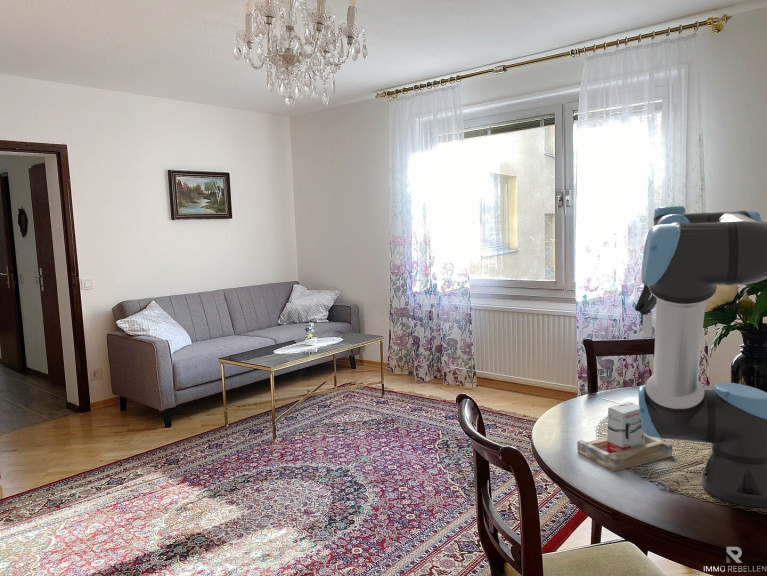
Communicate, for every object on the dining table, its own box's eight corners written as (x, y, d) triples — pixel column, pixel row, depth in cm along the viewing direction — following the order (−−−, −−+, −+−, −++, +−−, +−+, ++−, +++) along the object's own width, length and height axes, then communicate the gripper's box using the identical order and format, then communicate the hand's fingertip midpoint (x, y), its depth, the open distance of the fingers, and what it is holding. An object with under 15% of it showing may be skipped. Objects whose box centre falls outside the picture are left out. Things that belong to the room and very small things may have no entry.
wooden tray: (672, 455, 141) (672, 444, 140) (615, 471, 134) (615, 459, 133) (631, 438, 153) (631, 427, 152) (577, 451, 146) (577, 440, 145)
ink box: (622, 458, 139) (622, 412, 137) (606, 451, 143) (606, 407, 142) (645, 450, 142) (646, 406, 141) (629, 443, 147) (629, 401, 145)
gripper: (722, 265, 138) (719, 348, 141) (641, 260, 161) (640, 332, 164) (701, 267, 136) (698, 352, 138) (622, 262, 159) (621, 334, 161)
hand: (667, 341), depth 151 cm, fingers open, 13 cm apart
